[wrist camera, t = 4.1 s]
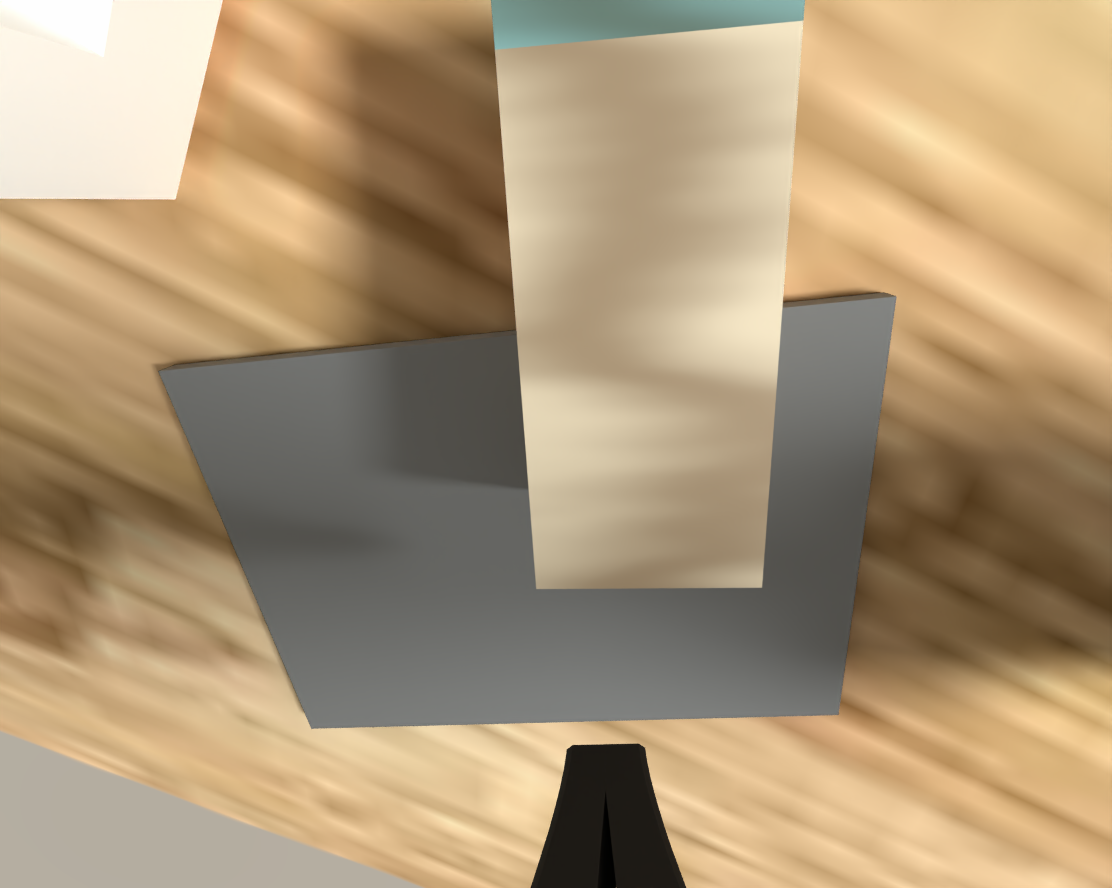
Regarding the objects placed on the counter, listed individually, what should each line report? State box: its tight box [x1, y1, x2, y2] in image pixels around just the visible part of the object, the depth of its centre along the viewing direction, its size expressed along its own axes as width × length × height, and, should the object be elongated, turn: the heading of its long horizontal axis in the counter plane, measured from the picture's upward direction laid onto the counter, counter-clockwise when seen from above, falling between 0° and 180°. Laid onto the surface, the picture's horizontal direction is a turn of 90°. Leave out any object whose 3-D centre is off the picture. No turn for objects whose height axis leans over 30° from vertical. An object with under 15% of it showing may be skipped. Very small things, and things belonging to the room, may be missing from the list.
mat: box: [158, 293, 896, 729], centre depth 17 cm, size 19×14×1 cm
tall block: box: [491, 0, 805, 589], centre depth 11 cm, size 4×4×10 cm
